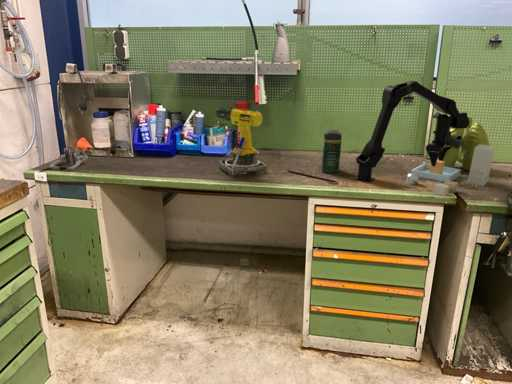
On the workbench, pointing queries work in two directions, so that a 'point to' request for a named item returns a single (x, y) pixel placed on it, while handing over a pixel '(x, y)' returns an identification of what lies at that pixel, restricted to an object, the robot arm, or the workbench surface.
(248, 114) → the cordless drill
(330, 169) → the coffee jar
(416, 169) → the parts tray
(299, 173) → the crowbar
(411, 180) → the grey metal puck
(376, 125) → the robot arm
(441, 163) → the orange block
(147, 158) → the workbench surface
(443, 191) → the offwhite block
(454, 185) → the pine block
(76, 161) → the bike brake
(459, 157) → the lungs
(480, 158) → the skincare box
